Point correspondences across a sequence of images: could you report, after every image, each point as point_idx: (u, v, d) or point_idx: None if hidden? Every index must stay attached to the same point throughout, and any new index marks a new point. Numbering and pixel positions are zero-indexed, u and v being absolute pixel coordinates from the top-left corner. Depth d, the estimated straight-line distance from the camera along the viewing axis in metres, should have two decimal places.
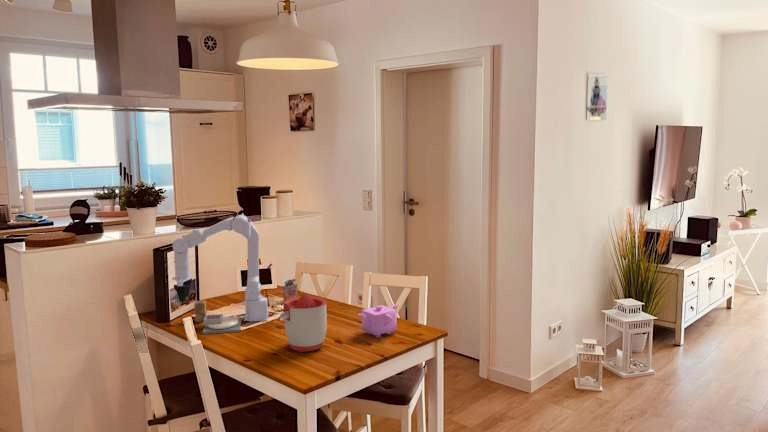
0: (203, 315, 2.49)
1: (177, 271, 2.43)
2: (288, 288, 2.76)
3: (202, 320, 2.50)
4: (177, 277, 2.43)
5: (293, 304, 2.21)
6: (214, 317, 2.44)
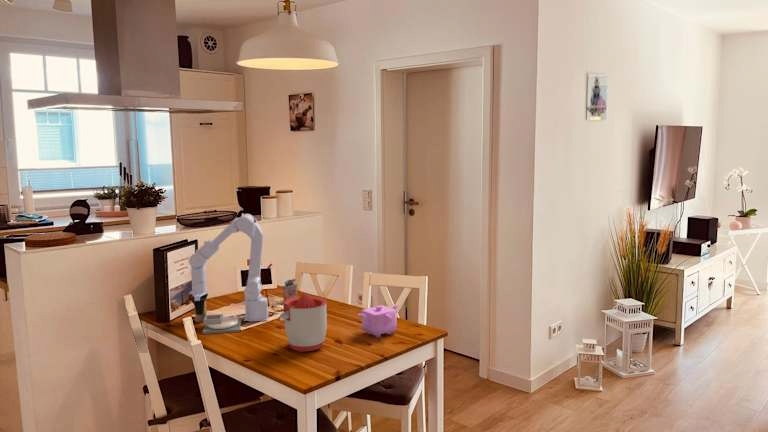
0: (203, 315, 2.49)
1: (194, 286, 2.47)
2: (288, 288, 2.76)
3: (202, 320, 2.50)
4: (194, 291, 2.47)
5: (293, 304, 2.21)
6: (214, 317, 2.44)
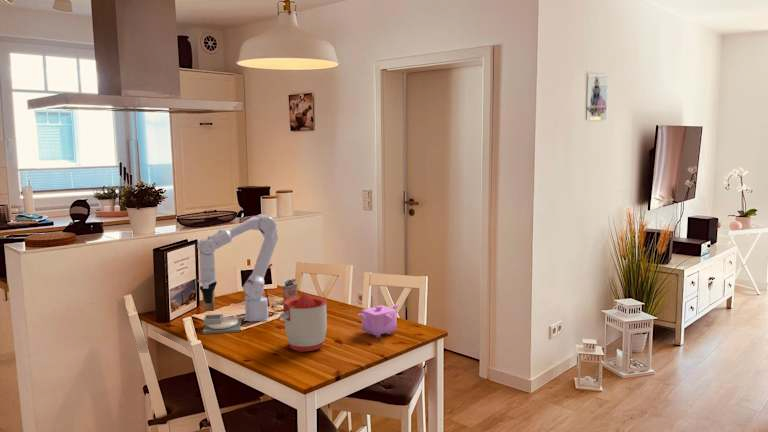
0: (211, 304, 2.41)
1: (202, 273, 2.38)
2: (288, 288, 2.76)
3: (210, 309, 2.41)
4: (202, 279, 2.39)
5: (293, 304, 2.21)
6: (214, 317, 2.44)
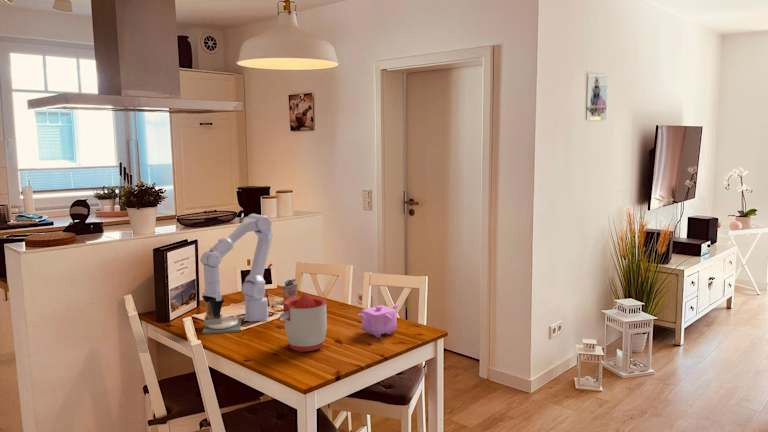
0: None
1: (210, 286, 2.35)
2: (288, 288, 2.76)
3: None
4: (210, 292, 2.35)
5: (293, 304, 2.21)
6: None
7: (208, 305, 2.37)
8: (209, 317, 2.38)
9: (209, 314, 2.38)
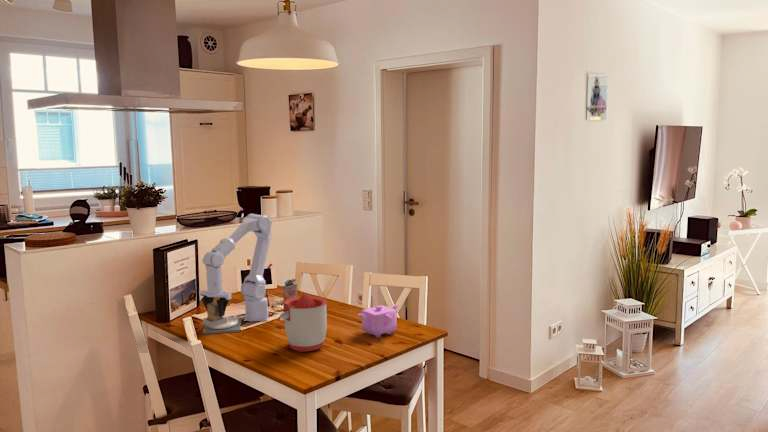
0: None
1: (216, 286, 2.34)
2: (288, 288, 2.76)
3: None
4: (216, 293, 2.34)
5: (293, 304, 2.21)
6: None
7: (214, 306, 2.35)
8: (215, 318, 2.36)
9: (215, 315, 2.36)
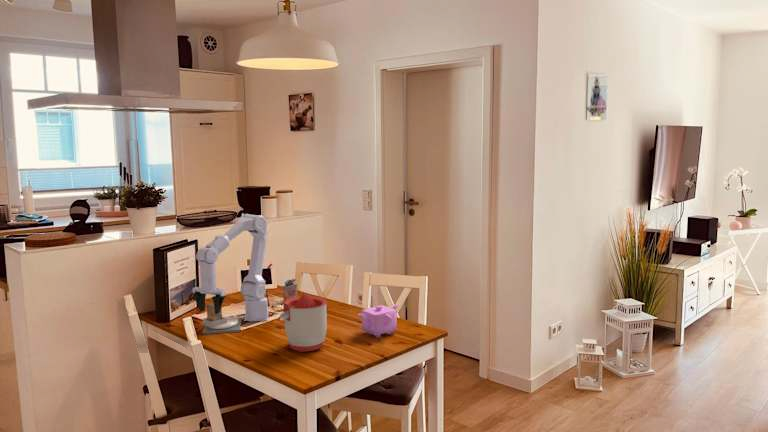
0: (220, 316, 2.39)
1: (210, 283, 2.31)
2: (288, 288, 2.76)
3: None
4: (210, 289, 2.31)
5: (293, 304, 2.21)
6: None
7: None
8: (215, 318, 2.36)
9: (215, 315, 2.36)
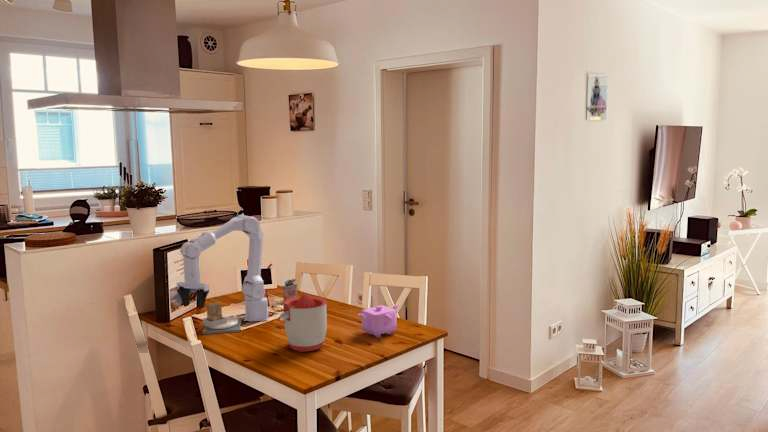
0: (220, 316, 2.39)
1: (194, 277, 2.31)
2: (288, 288, 2.76)
3: None
4: (193, 284, 2.31)
5: (293, 304, 2.21)
6: None
7: (214, 306, 2.36)
8: (215, 318, 2.36)
9: (215, 315, 2.36)
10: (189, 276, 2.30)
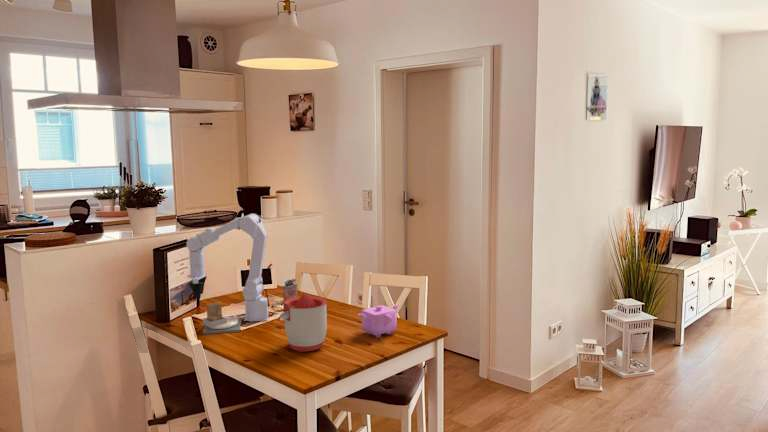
0: (220, 316, 2.39)
1: (192, 269, 2.50)
2: (288, 288, 2.76)
3: None
4: (192, 275, 2.50)
5: (293, 304, 2.21)
6: None
7: (214, 306, 2.36)
8: (215, 318, 2.36)
9: (215, 315, 2.36)
10: (190, 267, 2.51)
